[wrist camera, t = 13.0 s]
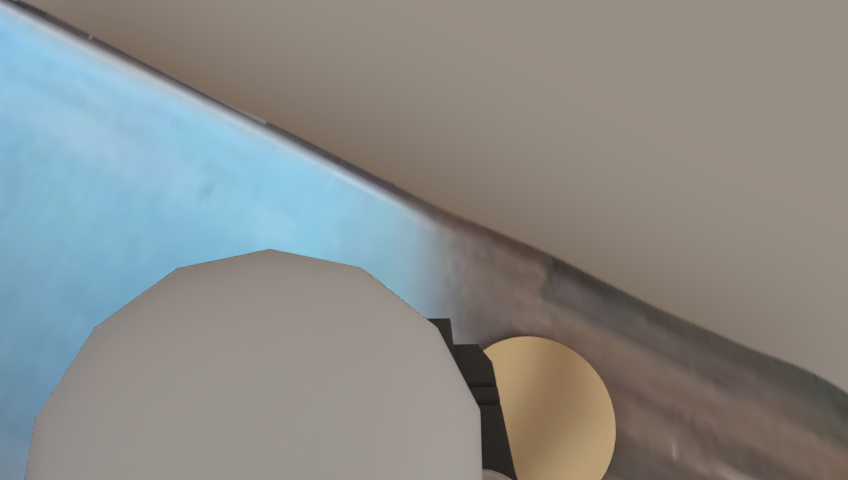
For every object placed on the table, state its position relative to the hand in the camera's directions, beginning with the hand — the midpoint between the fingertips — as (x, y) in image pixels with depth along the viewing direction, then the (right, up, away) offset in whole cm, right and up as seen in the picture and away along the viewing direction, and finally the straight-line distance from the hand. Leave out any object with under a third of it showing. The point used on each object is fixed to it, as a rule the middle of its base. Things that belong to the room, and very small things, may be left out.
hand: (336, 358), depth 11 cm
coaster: (+7, -7, +20) cm, 22 cm away
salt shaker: (0, -3, +6) cm, 7 cm away
